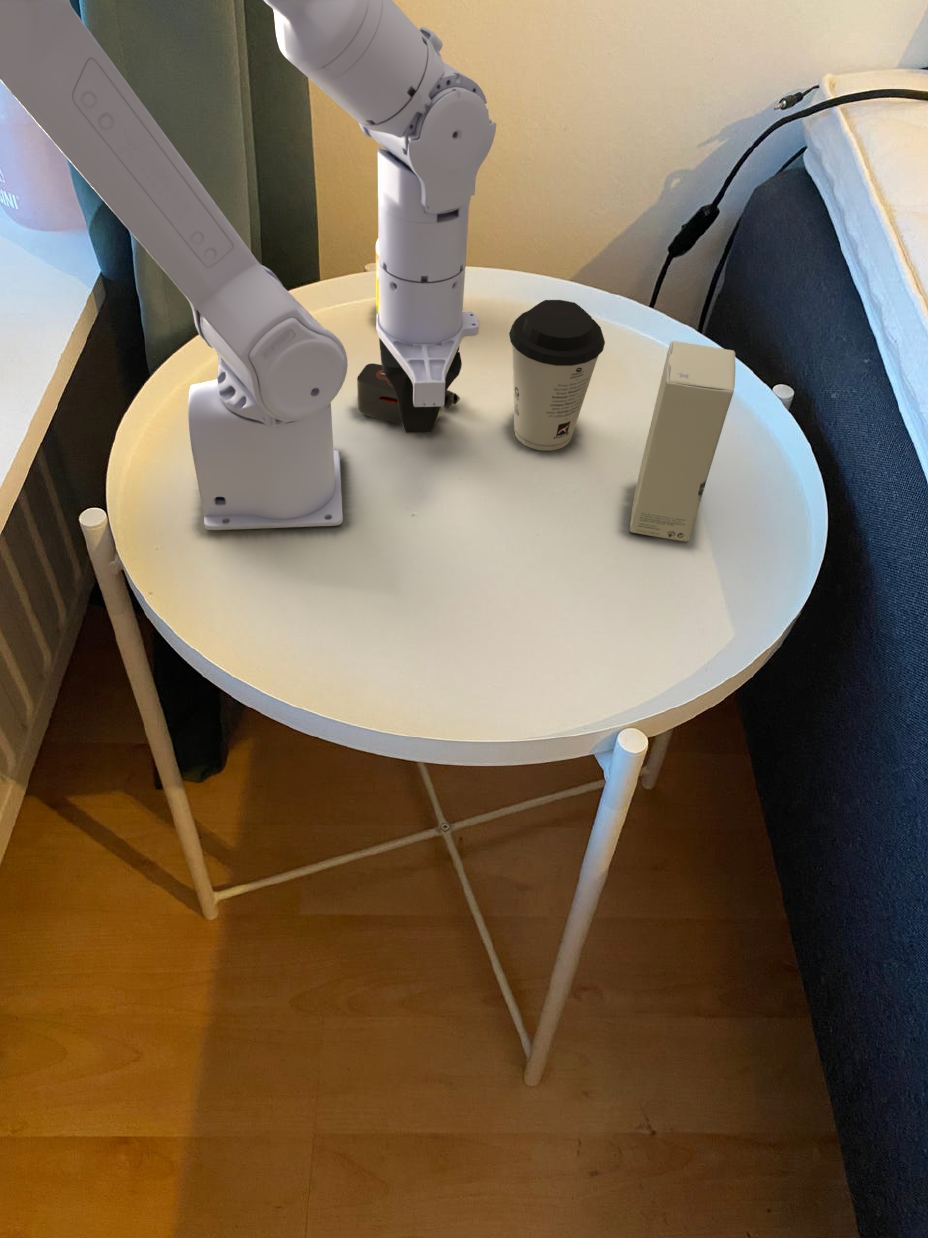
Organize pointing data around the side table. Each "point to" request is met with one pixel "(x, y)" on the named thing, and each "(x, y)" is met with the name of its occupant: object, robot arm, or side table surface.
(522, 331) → the coffee cup
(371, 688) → the side table surface
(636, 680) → the side table surface
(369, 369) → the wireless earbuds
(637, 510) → the box
